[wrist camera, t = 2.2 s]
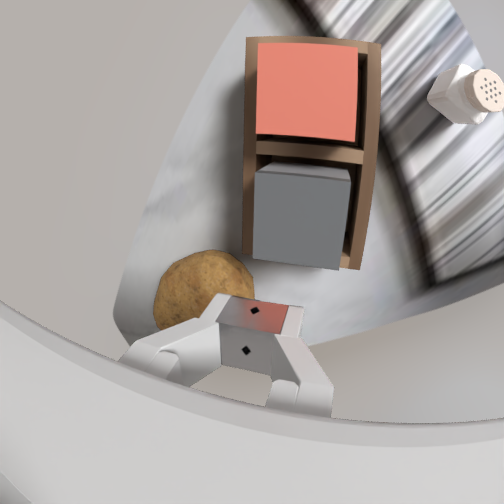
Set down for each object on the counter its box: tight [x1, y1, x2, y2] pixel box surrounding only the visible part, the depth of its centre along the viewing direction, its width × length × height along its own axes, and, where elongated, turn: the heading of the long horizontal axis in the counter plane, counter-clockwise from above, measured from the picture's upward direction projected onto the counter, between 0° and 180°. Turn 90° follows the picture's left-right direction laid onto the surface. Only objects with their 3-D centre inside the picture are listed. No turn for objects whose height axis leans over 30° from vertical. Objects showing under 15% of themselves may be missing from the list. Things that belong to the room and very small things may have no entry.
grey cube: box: [253, 161, 351, 270], centre depth 21 cm, size 6×6×6 cm
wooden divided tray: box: [242, 36, 381, 270], centre depth 24 cm, size 10×18×7 cm, turn 178°
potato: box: [153, 250, 255, 330], centre depth 33 cm, size 10×14×8 cm
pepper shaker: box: [427, 64, 504, 124], centre depth 17 cm, size 4×4×10 cm
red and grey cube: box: [256, 43, 358, 142], centre depth 18 cm, size 6×6×6 cm
